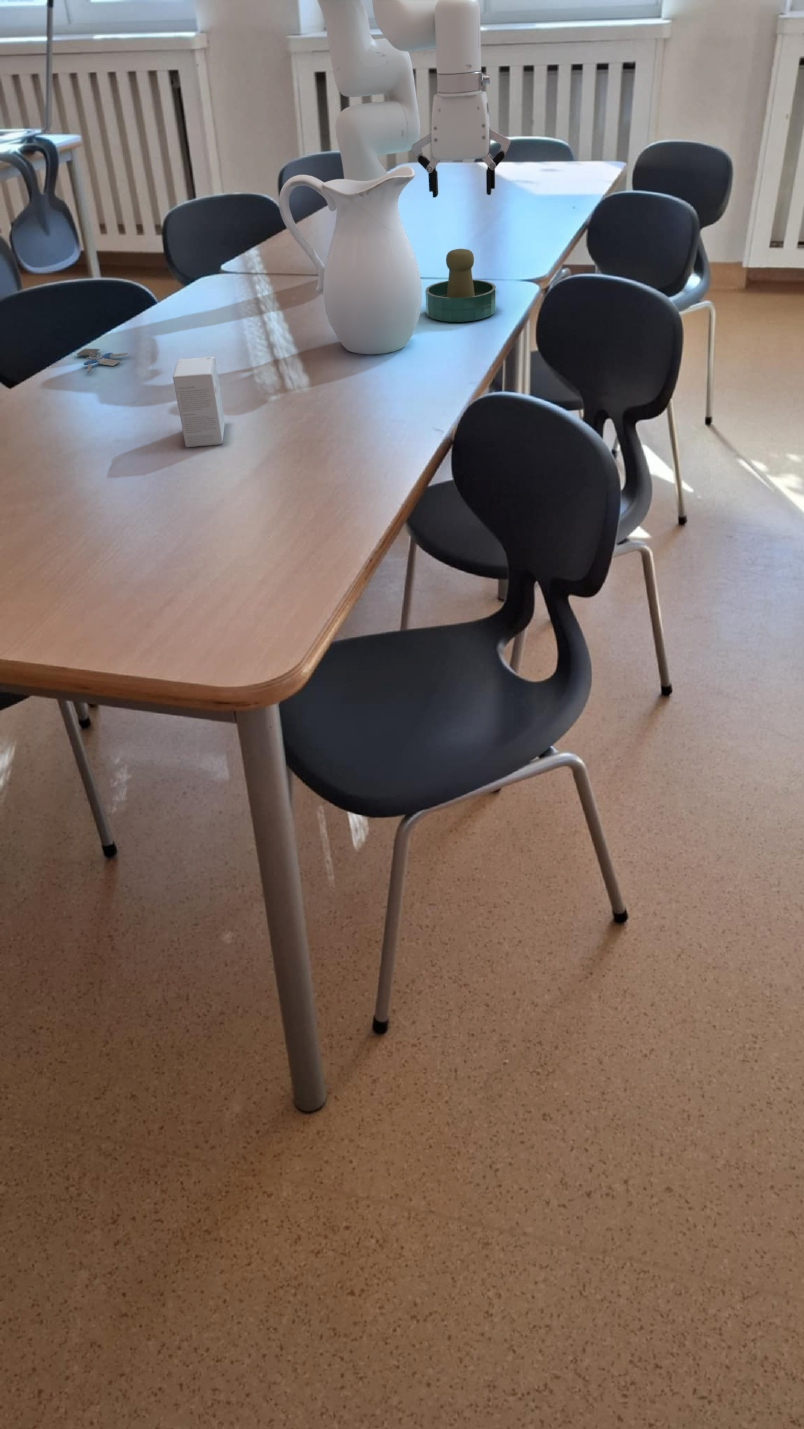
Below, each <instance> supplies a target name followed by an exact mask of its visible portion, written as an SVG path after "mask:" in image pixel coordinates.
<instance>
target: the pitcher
mask: <svg viewBox="0 0 804 1429" xmlns="http://www.w3.org/2000/svg"><path fill="white" fill-rule="evenodd" d="M415 177H416V171H415V170H414V168H413V167H411V166H409V165H404V166H400V167H398V168H395V169H394V170H391V171H390V172H387V174H386V175H384V176H382V177H380V178H377V179H374V180H370V181H355V180H347V179H344V178H336V179H331V180H328V181H325V182H324V181H322V180H321V179H319V178H317V177H315V176H312V175H309V174H297V175H293V176H292V177H290V178H289V179H287V180H286V181H285V183H284V184H283V186H282V187H281V190H280V191H279V196H278V207H279V213H280V216H281V219H282V221H283V223H284V225H285V227H286V229H287V230H288V232H289V234H291V236H292V237H293V239H294V240H295V241H296V243H297V244H298V245H299V246H300V248H302V250H303V251H304V252H305V254H306V255H307V257H308V258H309V259H310V261H311V262H312V264H313V266H314V267H315V269H316V272H317V276H318V279H317V284H316V288H315V291H314V292H315V293H316V294H319V293H323V302H324V303H323V304H324V309H325V313H326V317H327V319H328V322H329V324H330V326H331V329H332V331H333V332H334V334H335V336H336V337H337V339H338V340H339V342H340V343H341V345H342V346H343V348H344V349H346V350H347V351H348V352H350V353H354V354H359V355H360V354H361V355H383V354H389V353H393V352H396V351H399V350H401V349H403V348H405V347H406V346H407V345H408V343H409V342H410V341H411V338H412V337H413V334H414V332H415V331H416V327H417V326H418V323H419V319H420V316H421V315H420V314H421V310H422V302H423V300H422V298H423V288H422V287H423V286H422V279H421V274H420V268H419V264H418V262H417V259H416V255H415V252H414V250H413V248H412V245H411V243H410V240H409V236H408V235H407V233H406V230H405V228H404V226H403V223H402V220H401V217H400V212H399V198H400V196H401V194H402V192H403V190H404V189H405V188H406V186H407V185H408V184H409V183H410V182H411V181H412V180H413V179H414V178H415ZM297 187H309V189H313V190H314V191H316V192H317V193H318V194H319V195H320V196H322V197H323V198H324V200H325V201H326V204H327V207H328V210H329V211H330V212H334V211H336V218H335V226H334V229H333V233H332V237H331V239H330V240H331V241H330V243H329V248H328V252H327V254H326V259H325V263H324V262H323V261H322V259H321V258H320V257H319V255H318V254H317V253H316V251H315V249H314V248H313V247H312V246H311V244H310V243H309V242H308V241H307V239H306V238H305V236H304V235H303V233H302V232H301V230H300V229H299V227H298V226H297V224H296V222H295V220H294V218H293V215H292V212H291V208H290V197H291V193H292V192H293V191H294V189H296V188H297Z"/></svg>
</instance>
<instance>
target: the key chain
mask: <svg viewBox="0 0 804 1429" xmlns="http://www.w3.org/2000/svg"><path fill="white" fill-rule="evenodd" d="M98 352H100V348H84V349H82V350H80V351H79V352H78V353H76V356H83V357H85V356H86V357H85V360H86V361H85V362H83V365H84V366H87V373H90V372H91V370H92V366H93V364H96V363H97V364H99V365H105V366H110V367H114V366H115V365H117V364H119V363H120V362H121V360H118V359H112V358H115V357H117V358H118V357H122V356H123V357H125V356H128V352H121V353H113V352H107V353H104V354H101V353H100V354H96V353H98ZM87 356H88V357H87Z"/></svg>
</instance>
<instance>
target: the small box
mask: <svg viewBox="0 0 804 1429" xmlns="http://www.w3.org/2000/svg"><path fill="white" fill-rule="evenodd" d="M175 363H176V364H175V368H174V371H173V375H172V381H173V385H174V391H175V396H176V403H177V407H178V411H179V412H178V413H179V418H180V424H181V428H182V433H183V439H184V445H185V448H194V447H205V446H219V445H223V443H224V436H225V435H224V434H225V427H226V421H225V415H224V414H225V413H224V408H223V401H222V395H221V387H220V381H219V374H218V368H217V362H216V357H215V356H203V357H191V358H190V357H189V358H188V357H187V358H179V359H177V360H176V362H175Z"/></svg>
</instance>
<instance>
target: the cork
mask: <svg viewBox="0 0 804 1429" xmlns="http://www.w3.org/2000/svg"><path fill="white" fill-rule="evenodd" d="M445 263H446V266H447V269H448V279H447V281H448V289H447V297H451V298H459V297H471V296H475V293H474V286H473V280H474V279H473V273H472V268H473V267H474V263H475V256H474V253H473V251H472V250H470V249H467V248H454V249H452V250H450V251H448V252H447V254H446V257H445Z"/></svg>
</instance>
